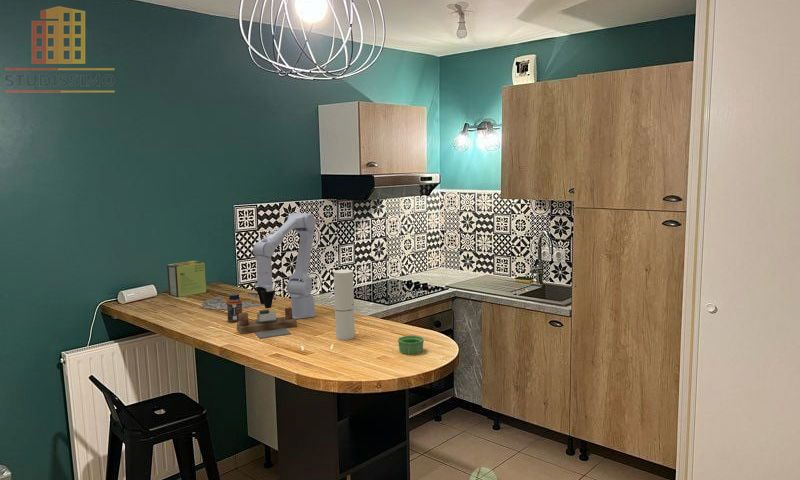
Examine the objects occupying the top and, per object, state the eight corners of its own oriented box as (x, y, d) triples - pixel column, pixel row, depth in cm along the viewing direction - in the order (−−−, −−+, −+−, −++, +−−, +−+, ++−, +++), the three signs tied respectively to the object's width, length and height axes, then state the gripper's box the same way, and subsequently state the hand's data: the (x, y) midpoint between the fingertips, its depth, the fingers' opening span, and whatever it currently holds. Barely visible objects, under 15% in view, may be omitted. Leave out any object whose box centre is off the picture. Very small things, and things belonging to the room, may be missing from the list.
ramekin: (392, 351, 212) (392, 339, 211) (410, 345, 218) (410, 333, 217) (411, 357, 205) (411, 344, 205) (429, 351, 211) (429, 338, 211)
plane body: (291, 322, 252) (290, 305, 251) (296, 326, 245) (296, 309, 244) (237, 329, 243) (236, 312, 242) (241, 334, 236) (240, 316, 235)
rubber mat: (285, 329, 242) (285, 328, 241) (291, 334, 234) (291, 333, 234) (255, 333, 236) (254, 332, 236) (259, 338, 229) (259, 337, 229)
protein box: (206, 292, 313) (205, 262, 311) (178, 297, 302) (176, 266, 300) (196, 289, 320) (194, 260, 318) (168, 294, 309) (166, 264, 307)
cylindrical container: (357, 335, 232) (356, 270, 228) (350, 340, 225) (348, 273, 222) (340, 333, 234) (338, 269, 231) (332, 338, 227) (330, 272, 224)
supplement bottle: (238, 322, 253) (237, 295, 251) (225, 322, 254) (223, 295, 252) (245, 319, 258) (243, 292, 257) (232, 318, 260) (230, 292, 258)
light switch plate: (273, 317, 247) (272, 307, 246) (276, 319, 243) (275, 310, 242) (257, 319, 244) (256, 309, 243) (259, 321, 240) (259, 312, 240)
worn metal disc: (185, 305, 287) (185, 304, 287) (243, 291, 315) (243, 290, 315) (232, 314, 268) (232, 313, 268) (290, 298, 296) (290, 297, 296)
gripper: (250, 270, 246) (251, 303, 247) (258, 276, 233) (260, 311, 234) (267, 268, 249) (269, 301, 250) (276, 274, 236) (278, 308, 237)
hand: (265, 306), depth 243 cm, fingers open, 7 cm apart
